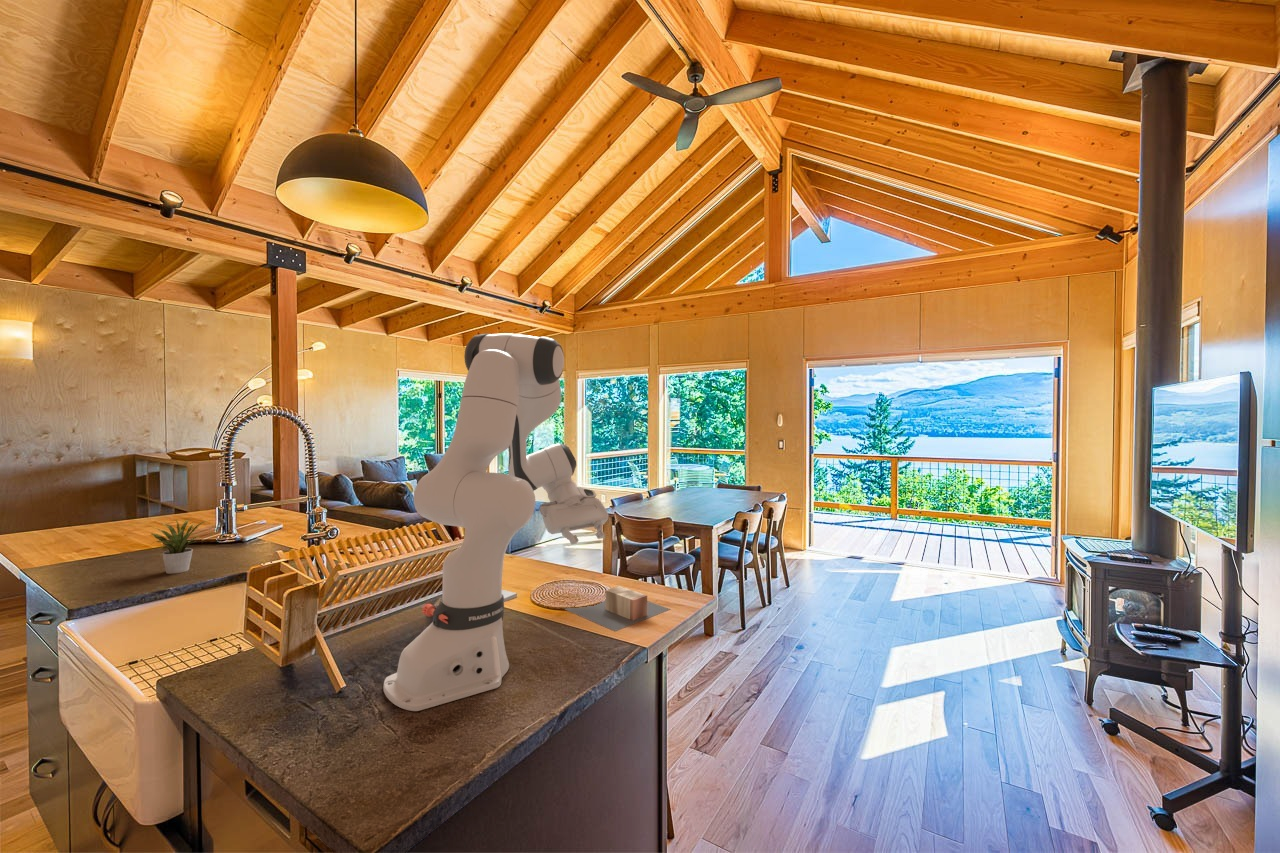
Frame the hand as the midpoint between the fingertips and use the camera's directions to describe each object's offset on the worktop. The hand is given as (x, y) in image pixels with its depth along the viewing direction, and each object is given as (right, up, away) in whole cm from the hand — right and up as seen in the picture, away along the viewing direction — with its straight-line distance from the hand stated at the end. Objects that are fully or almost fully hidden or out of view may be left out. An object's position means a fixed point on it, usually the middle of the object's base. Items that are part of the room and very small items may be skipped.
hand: (588, 540), depth 140 cm
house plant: (-129, -14, +20) cm, 131 cm away
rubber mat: (+8, -17, -8) cm, 20 cm away
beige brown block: (+7, -14, -7) cm, 17 cm away
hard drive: (-27, -17, -2) cm, 32 cm away
